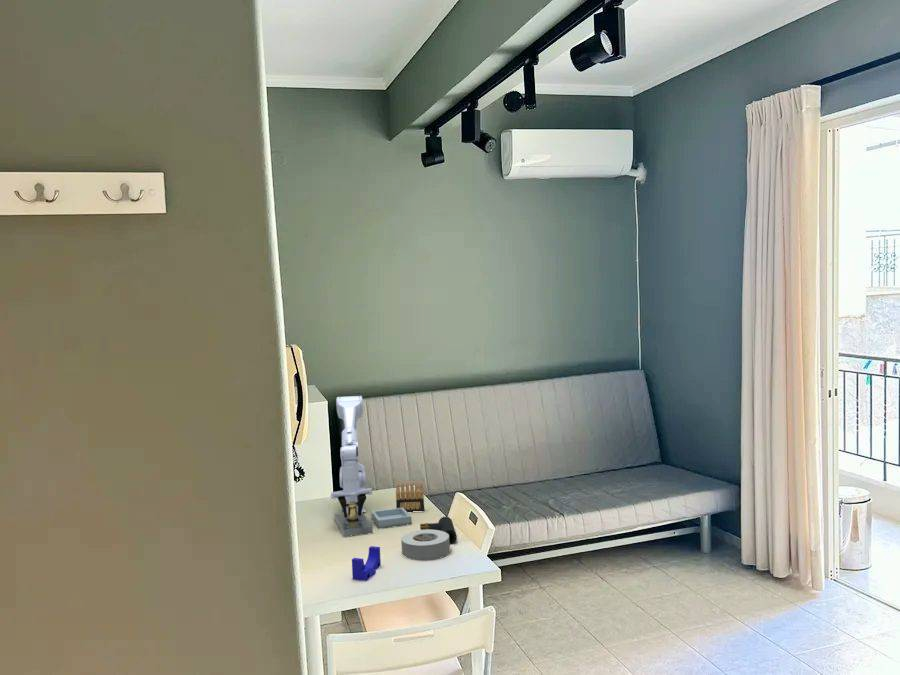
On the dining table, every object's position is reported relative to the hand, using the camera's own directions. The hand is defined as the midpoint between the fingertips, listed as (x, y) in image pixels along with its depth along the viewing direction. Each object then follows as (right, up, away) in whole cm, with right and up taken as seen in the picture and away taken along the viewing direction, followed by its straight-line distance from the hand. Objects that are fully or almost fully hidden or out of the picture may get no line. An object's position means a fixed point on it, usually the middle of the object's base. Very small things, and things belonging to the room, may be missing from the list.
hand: (352, 516), depth 271 cm
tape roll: (+27, -5, -28) cm, 39 cm away
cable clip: (+11, -7, -44) cm, 46 cm away
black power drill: (+31, -4, -14) cm, 34 cm away
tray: (+13, -3, +4) cm, 15 cm away
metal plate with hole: (0, -4, 0) cm, 4 cm away
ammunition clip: (+20, -2, +16) cm, 26 cm away
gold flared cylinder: (0, -4, 0) cm, 4 cm away
